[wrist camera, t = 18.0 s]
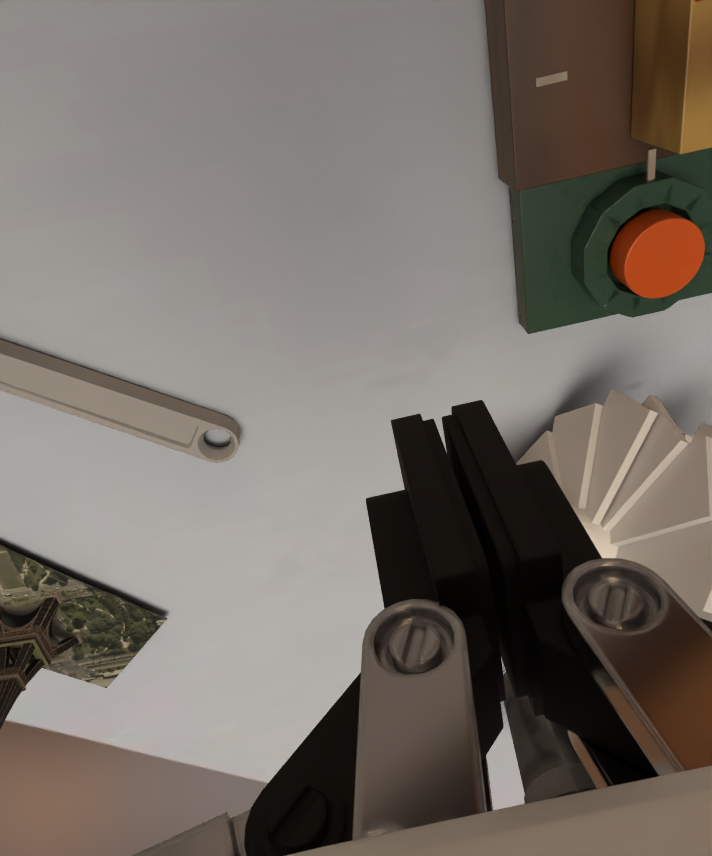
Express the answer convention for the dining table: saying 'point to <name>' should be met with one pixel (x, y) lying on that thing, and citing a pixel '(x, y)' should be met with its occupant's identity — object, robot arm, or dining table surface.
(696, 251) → the button
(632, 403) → the spiral staircase
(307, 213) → the dining table surface
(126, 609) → the eiffel tower figurine
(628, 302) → the button housing
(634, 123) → the yellow box red tab
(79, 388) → the adjustable wrench
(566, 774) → the beverage cup
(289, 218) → the dining table surface
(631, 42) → the control panel
